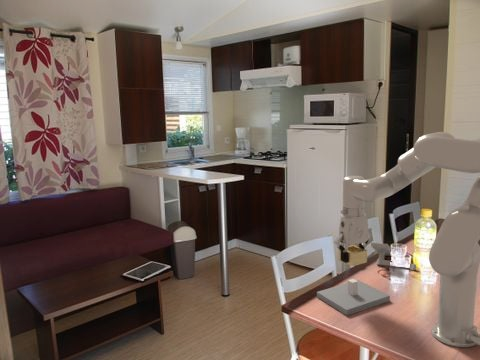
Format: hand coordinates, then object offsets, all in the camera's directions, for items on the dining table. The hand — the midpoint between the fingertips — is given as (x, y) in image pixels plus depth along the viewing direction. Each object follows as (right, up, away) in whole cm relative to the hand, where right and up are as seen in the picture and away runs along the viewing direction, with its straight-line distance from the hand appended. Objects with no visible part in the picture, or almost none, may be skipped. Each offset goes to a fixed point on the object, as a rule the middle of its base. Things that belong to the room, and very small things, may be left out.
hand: (352, 259), depth 148 cm
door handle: (+28, -9, +34) cm, 45 cm away
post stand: (+1, -15, +2) cm, 15 cm away
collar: (0, -1, 0) cm, 1 cm away
